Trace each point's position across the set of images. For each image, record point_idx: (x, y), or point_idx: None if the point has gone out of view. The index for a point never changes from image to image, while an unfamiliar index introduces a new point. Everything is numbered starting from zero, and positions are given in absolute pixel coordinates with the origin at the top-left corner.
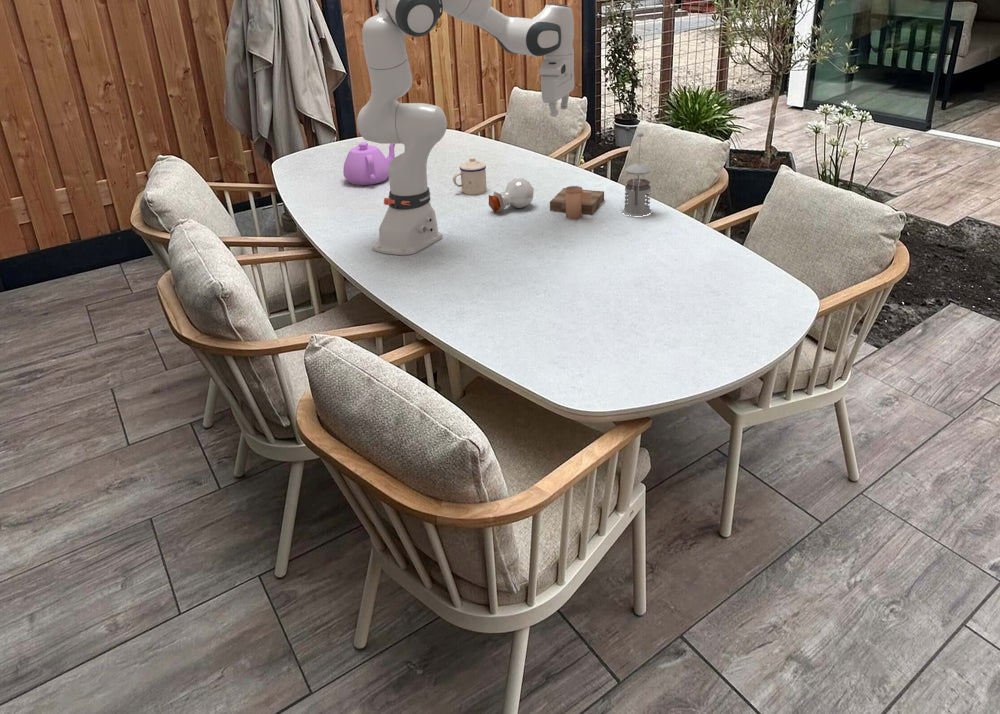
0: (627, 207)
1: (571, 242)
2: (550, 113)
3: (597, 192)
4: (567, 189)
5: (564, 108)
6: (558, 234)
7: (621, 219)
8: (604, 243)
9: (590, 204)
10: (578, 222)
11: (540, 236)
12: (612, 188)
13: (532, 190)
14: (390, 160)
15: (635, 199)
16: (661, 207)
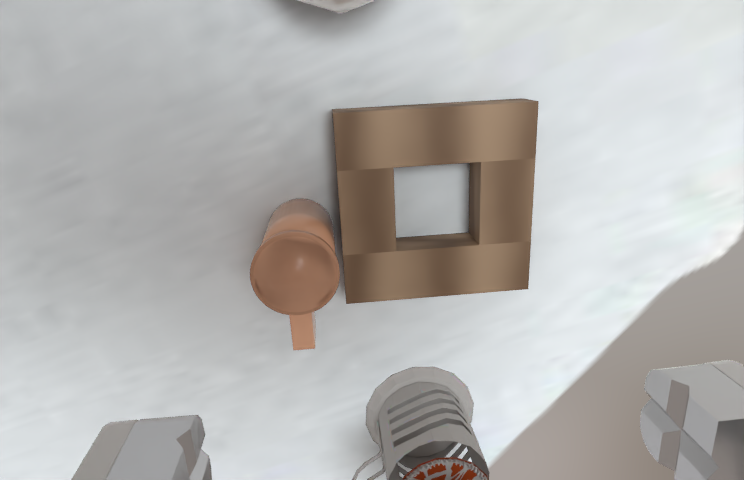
0: (386, 413)
1: (45, 319)
2: (93, 446)
3: (509, 268)
4: (274, 251)
5: (651, 426)
6: (94, 247)
7: (334, 393)
8: (96, 417)
9: (357, 293)
10: (247, 270)
11: (37, 189)
12: (660, 256)
13: (348, 4)
14: None
15: (467, 417)
16: None
